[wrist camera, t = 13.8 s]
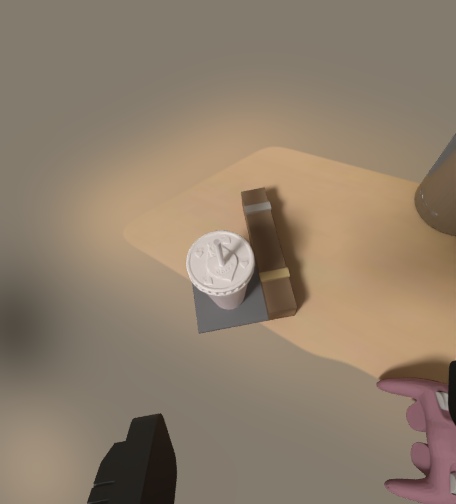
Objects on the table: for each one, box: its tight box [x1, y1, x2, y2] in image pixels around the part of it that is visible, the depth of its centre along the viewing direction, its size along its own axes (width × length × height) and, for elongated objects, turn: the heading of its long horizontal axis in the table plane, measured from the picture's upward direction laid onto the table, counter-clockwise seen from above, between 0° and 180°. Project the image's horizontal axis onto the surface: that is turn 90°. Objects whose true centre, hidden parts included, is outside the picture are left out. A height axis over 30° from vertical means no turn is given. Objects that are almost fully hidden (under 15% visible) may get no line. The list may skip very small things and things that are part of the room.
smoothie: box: [186, 230, 255, 310], centre depth 33 cm, size 6×6×14 cm
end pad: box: [192, 258, 269, 333], centre depth 39 cm, size 8×8×1 cm
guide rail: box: [241, 188, 297, 320], centre depth 40 cm, size 3×16×3 cm, turn 10°
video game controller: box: [377, 378, 456, 504], centre depth 29 cm, size 10×5×7 cm, turn 174°
